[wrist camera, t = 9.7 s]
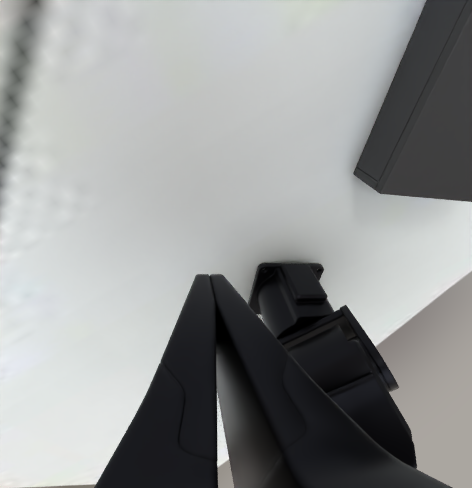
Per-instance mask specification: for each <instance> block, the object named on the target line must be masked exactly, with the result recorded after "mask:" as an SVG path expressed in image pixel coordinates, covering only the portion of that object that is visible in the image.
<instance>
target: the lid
mask: <svg viewBox="0 0 472 488" xmlns="http://www.w3.org/2000/svg"><path fill="white" fill-rule="evenodd" d="M354 175H355V176H357V177H358V178H359V179H361V180H362V181H363V182H365V183H366V184H368V185H369V186H370V187H372V188H373V189H374V190H376V191H377V192H378V193H380V194H390V195H401V196H412V197H424V198H435V199H446V200H458V201H469V202H472V0H427V2H426V4H425V7H424V9H423V11H422V14H421V16H420V18H419V21H418V23H417V25H416V28H415V30H414V32H413V35H412V37H411V40H410V42H409V44H408V47H407V49H406V51H405V54H404V56H403V58H402V61H401V63H400V65H399V68H398V70H397V72H396V75H395V77H394V80H393V82H392V84H391V87H390V89H389V91H388V94H387V96H386V98H385V101H384V103H383V105H382V108H381V110H380V112H379V115H378V117H377V120H376V122H375V124H374V127H373V129H372V131H371V134H370V136H369V138H368V141H367V143H366V145H365V148H364V150H363V152H362V155H361V157H360V160H359V162H358V164H357V167H356V169H355V171H354Z"/></svg>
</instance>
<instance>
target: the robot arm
mask: <svg viewBox="0 0 472 488" xmlns="http://www.w3.org/2000/svg"><path fill="white" fill-rule="evenodd" d="M264 268H265V269H264ZM262 269H264V270H262ZM317 269H318V270H317ZM323 271H324V268H323V267H322V265H321V264H276V263H263V264H260V265H259V266H258V269H257V273H256V276H255V280H254V284H253V287H252V291H251V295H250V298H249V302H248V304H247V303H246V302H245V300H244V299H243V298H242V297H241V296H240V294H239V293H238V292H237V291H236V290H235V289H234V287H233V286H232V285H231V284H230V283H229V281H228V280H227V279H226V278H225V277H224V276H223V275H221V274H212V275H210V276H209V275H208V274H198V275H196V277H195V279H194V281H193V284H192V286H191V289H190V291H189V294H188V296H187V298H186V301H185V303H184V306H183V308H182V311H181V313H180V315H179V318H178V320H177V323H176V325H175V328H174V330H173V332H172V335H171V337H170V340H169V342H168V345H167V347H166V349H165V352H164V354H163V357H162V359H161V363H160V364H159V366H158V368H157V371H156V373H155V376H154V378H153V380H152V382H151V384H150V387H149V389H148V391H147V393H146V396H145V398H144V399H143V401H142V403H141V405H140V407H139V409H138V411H137V413H136V415H135V417H134V419H133V420H132V422H131V424H130V426H129V427H128V429H127V431H126V433H125V435H124V436H123V438H122V440H121V442H120V443H119V445H118V447H117V449H116V450H115V452H114V454H113V456H112V457H111V459H110V461H109V463H108V465H107V466H106V468H105V470H104V472H103V473H102V475H101V477H100V479H99V480H98V482H97V484H96V486H95V487H94V488H218V472H217V393H218V398H219V404H220V409H221V415H222V421H223V426H224V432H225V437H226V443H227V449H228V454H229V460H230V465H231V471H232V476H233V482H234V488H452V487H450V486H447V485H446V484H444V483H442V482H440V481H438V480H436V479H434V478H432V477H430V476H428V475H426V474H424V473H423V472H421V471H418V470H417V469H416V468H417V464H416V456H415V449H414V443H413V441H412V434H411V430H410V428H409V426H408V424H407V423H406V421H405V419H404V418H403V416H402V414H401V413H400V411H399V409H398V407H397V406H396V404H395V402H394V401H393V399H392V397H391V396H390V394H389V392H390V391H393V390H396V389H398V388H399V386H398V384H397V382H396V380H395V379H394V377H393V375H392V373H391V372H390V370H389V369H388V367H387V365H386V363H385V362H384V360H383V358H382V357H381V355H380V354H379V352H378V350H377V349H376V347H375V346H374V344H373V343H372V341H371V340H370V339H369V337H368V336H367V334H366V333H365V331H364V330H363V329H362V327H361V326H360V324H359V323H358V321H357V320H356V319H355V317H354V316H353V314H352V313H351V311H350V310H349V309H348V307H347V306H346V305H345V306H343V307H341V308H340V309H339V310H337V311H335V312H334V310H333V308H332V307H331V305H330V303H329V302H328V300H327V294H326V293H325V291H324V289H323V288H322V286H321V284H320V283H319V280H320V277H321V275H322V273H323ZM256 314H261V315H262V318H263V321H264V323H263V322H262V320H261V319H260V318H259V317H258V316H257V315H256Z"/></svg>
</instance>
